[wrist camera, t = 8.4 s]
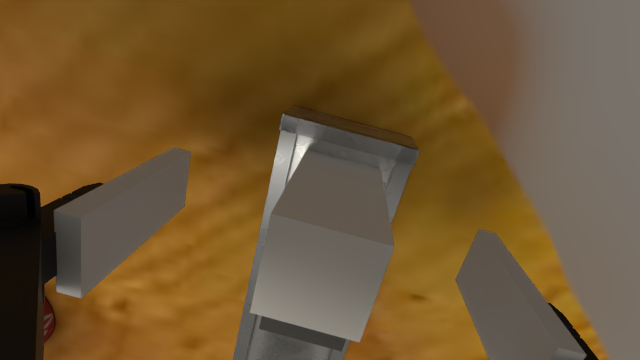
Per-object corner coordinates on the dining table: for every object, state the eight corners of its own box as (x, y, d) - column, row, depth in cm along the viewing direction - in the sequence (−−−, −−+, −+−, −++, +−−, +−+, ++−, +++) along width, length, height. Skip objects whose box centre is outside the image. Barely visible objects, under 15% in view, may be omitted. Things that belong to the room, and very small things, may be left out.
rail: (293, 105, 20) (231, 153, 11) (411, 137, 20) (459, 214, 10) (230, 395, 29) (163, 572, 19) (313, 418, 29) (289, 608, 19)
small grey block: (306, 149, 19) (270, 213, 11) (380, 168, 19) (394, 246, 11) (287, 230, 20) (245, 333, 13) (354, 249, 20) (351, 363, 13)
